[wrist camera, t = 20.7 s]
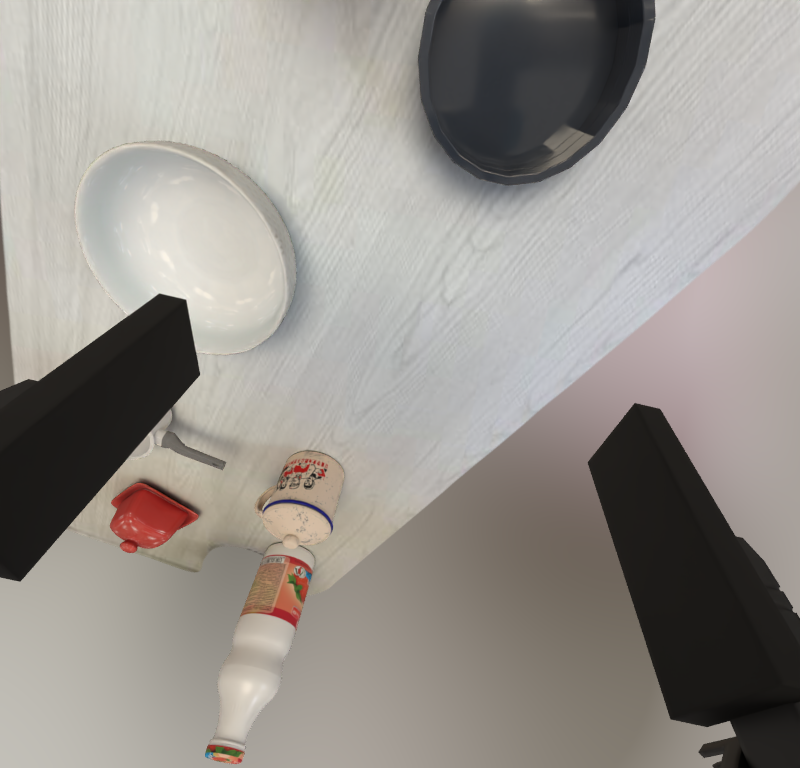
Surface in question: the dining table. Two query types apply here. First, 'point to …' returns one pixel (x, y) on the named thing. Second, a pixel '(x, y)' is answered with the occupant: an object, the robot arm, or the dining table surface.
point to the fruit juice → (260, 647)
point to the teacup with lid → (303, 500)
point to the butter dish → (147, 517)
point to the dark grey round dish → (529, 80)
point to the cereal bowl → (187, 241)
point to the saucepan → (171, 445)
